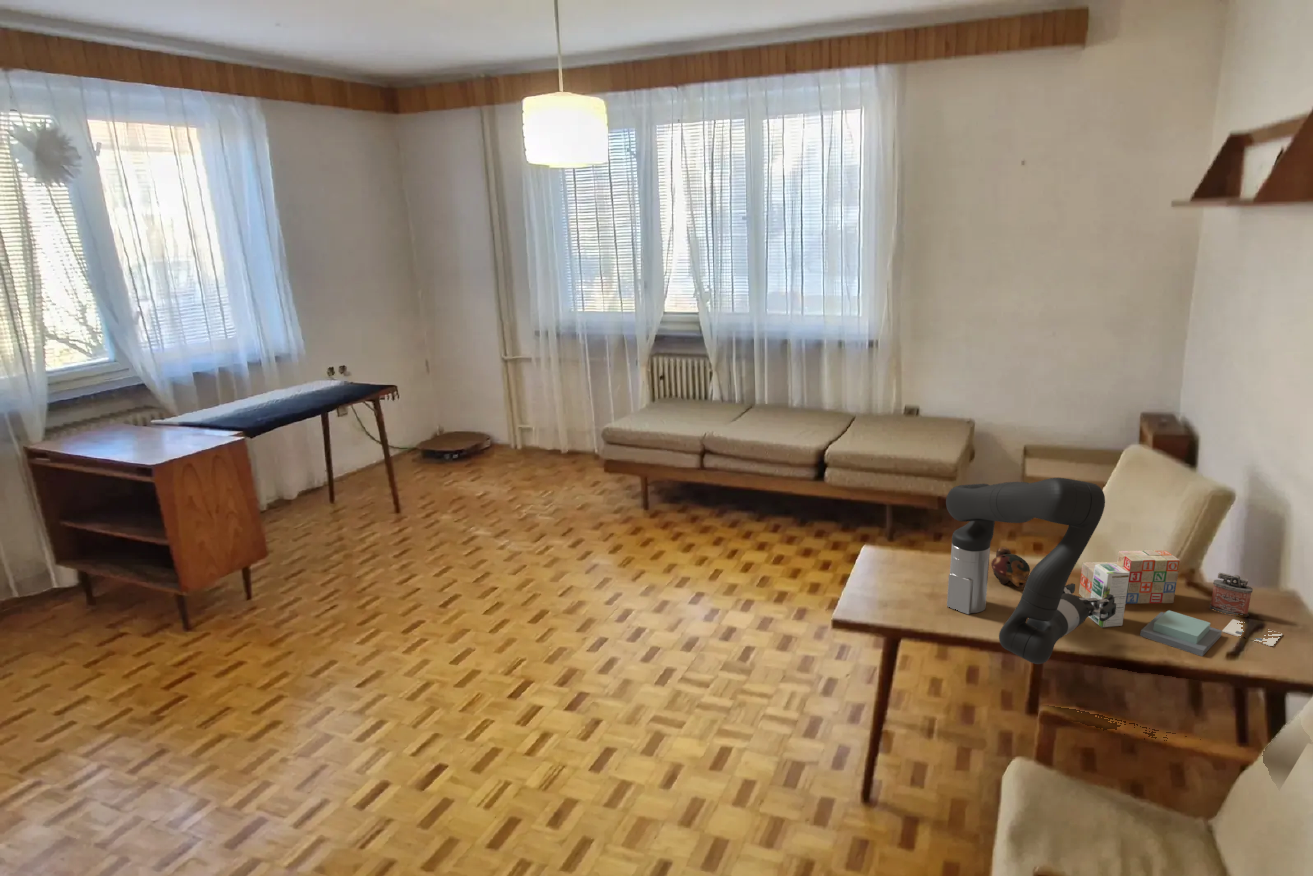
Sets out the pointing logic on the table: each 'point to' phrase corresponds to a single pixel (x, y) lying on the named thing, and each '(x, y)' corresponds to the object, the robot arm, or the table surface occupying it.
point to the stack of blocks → (1140, 576)
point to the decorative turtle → (1010, 567)
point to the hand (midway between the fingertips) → (1092, 592)
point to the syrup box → (1110, 591)
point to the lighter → (1231, 595)
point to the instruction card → (1237, 631)
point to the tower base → (1181, 643)
